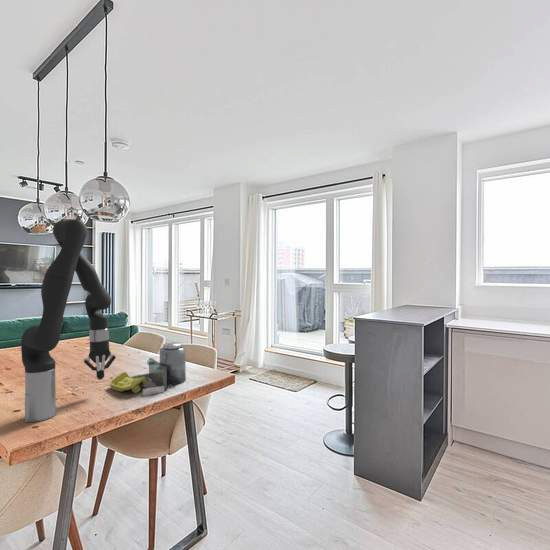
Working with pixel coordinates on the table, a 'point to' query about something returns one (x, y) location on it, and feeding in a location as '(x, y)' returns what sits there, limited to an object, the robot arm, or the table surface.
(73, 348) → the table surface
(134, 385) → the plastic component
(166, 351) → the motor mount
